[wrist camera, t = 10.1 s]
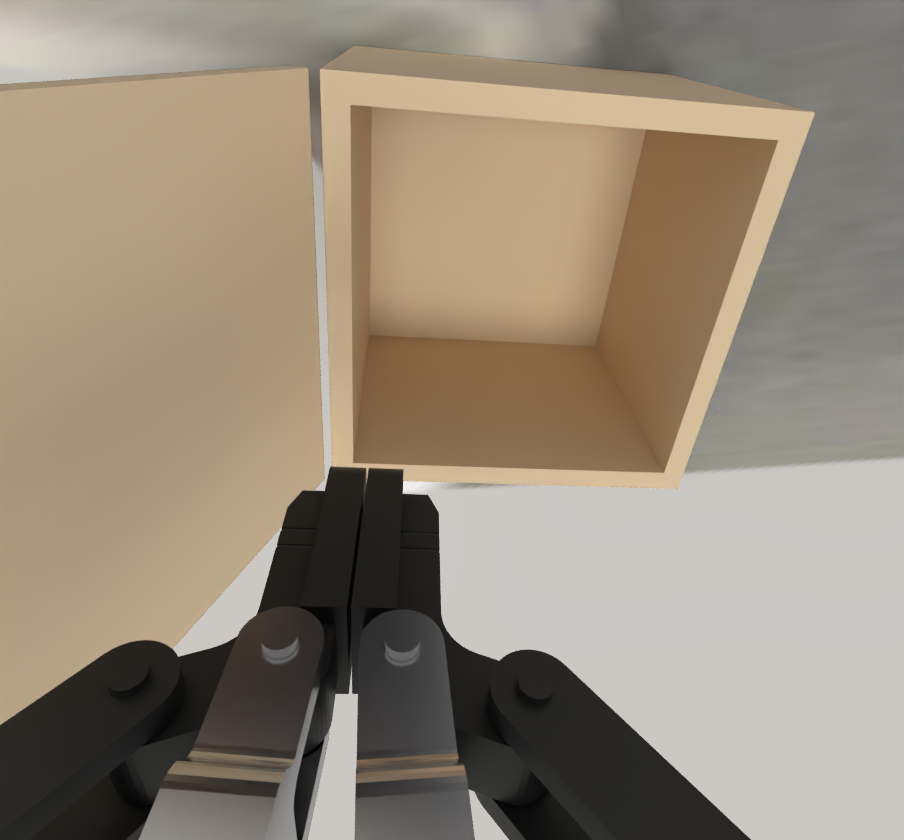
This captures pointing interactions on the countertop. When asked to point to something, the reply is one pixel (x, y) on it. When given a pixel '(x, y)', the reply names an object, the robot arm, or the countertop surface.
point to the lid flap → (148, 354)
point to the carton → (537, 262)
